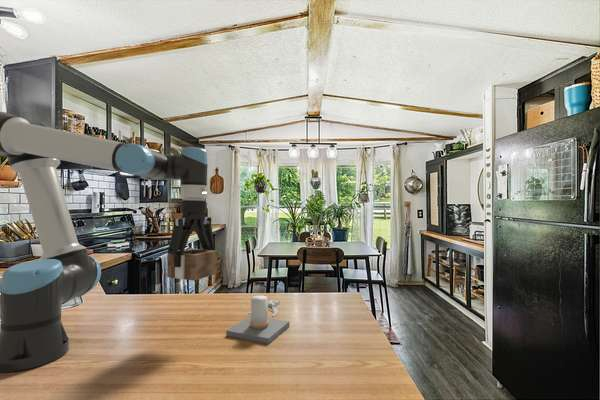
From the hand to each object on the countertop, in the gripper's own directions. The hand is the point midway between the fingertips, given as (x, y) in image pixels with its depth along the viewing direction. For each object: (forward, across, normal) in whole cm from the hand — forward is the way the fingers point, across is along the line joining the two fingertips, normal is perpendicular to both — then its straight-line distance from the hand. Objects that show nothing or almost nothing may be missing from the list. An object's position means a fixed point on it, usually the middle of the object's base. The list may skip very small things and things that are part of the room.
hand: (192, 274), depth 94 cm
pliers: (+18, +29, -10) cm, 36 cm away
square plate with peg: (+18, +10, -17) cm, 26 cm away
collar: (0, 0, 0) cm, 0 cm away
